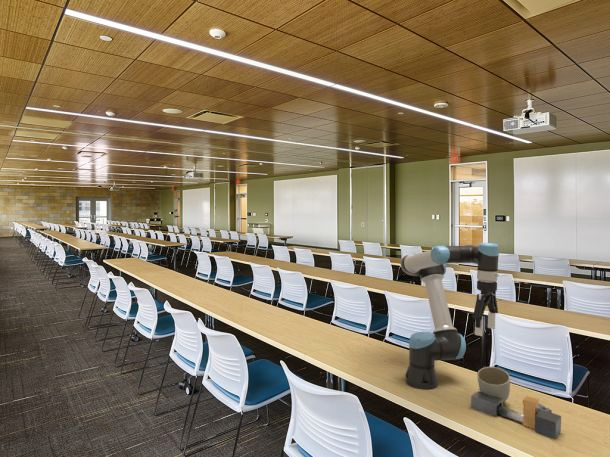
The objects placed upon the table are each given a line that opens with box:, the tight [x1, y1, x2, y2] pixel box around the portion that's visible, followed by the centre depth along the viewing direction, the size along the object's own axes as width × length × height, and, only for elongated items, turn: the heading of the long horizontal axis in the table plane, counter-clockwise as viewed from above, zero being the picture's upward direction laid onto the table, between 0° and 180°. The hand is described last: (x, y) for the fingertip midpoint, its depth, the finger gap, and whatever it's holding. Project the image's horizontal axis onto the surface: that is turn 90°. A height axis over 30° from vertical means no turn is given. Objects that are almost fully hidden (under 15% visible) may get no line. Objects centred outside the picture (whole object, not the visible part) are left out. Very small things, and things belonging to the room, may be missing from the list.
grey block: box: [470, 390, 504, 418], centre depth 157 cm, size 10×7×5 cm
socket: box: [534, 410, 562, 440], centre depth 141 cm, size 6×7×6 cm
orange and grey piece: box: [497, 395, 540, 430], centre depth 147 cm, size 19×4×10 cm, turn 43°
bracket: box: [522, 399, 553, 413], centre depth 159 cm, size 4×10×2 cm, turn 18°
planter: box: [477, 366, 511, 403], centre depth 163 cm, size 12×12×11 cm
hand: (485, 331), depth 158 cm, fingers open, 13 cm apart
